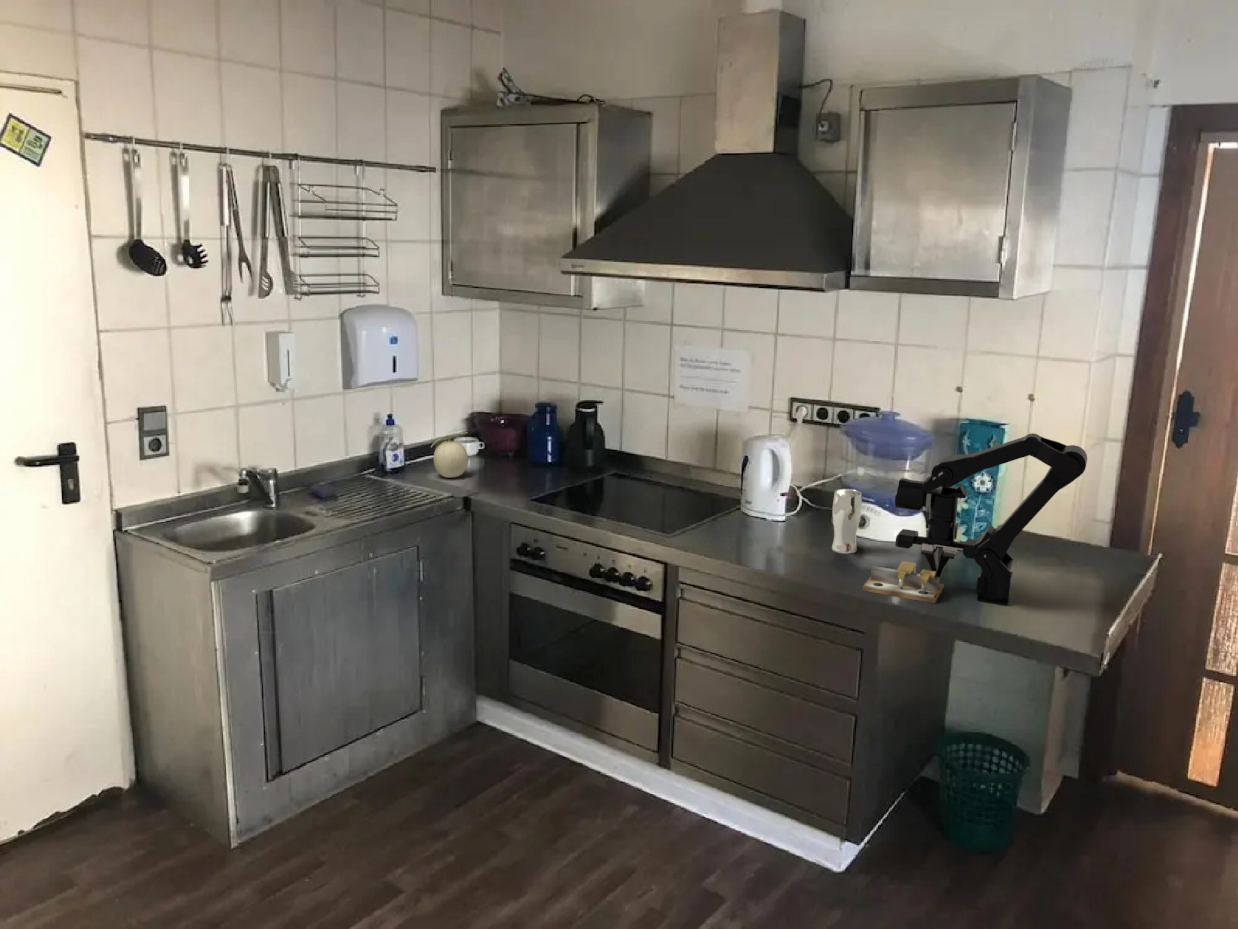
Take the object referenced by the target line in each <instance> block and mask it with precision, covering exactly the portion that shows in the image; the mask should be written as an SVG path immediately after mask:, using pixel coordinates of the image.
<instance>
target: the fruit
mask: <svg viewBox="0 0 1238 929" xmlns="http://www.w3.org/2000/svg"><path fill="white" fill-rule="evenodd" d="M464 434H468V431H465V432H455V433H450V434H445V435H444V436H441V437H440V438H439V439H437V440H435V441H434V442H433V443H432V444H431V446H430V448H431V449H432V448H433V446H434V445H435V444H436V443H437V442H439V441H440V440H443V439H445V438H447V441H446V440H445V441H443V442H441V443H440V444H438V446H436V448H435V450H434V452H433V465H434V468H435V470H436V471H437V473H438V474H440V476H442V477H444V478H448V479H449V478H450V479H451V478H452V479H453V478H458V477H461V475H463V473H464V472H465V471H466V470H467V467H468V464H469V456H468V453H467V452H468V451H467V449H466V448H465V445H463V444H462V443H460V442H459V441H457V440H452V439H451V437H453V436H457V435H464Z"/></svg>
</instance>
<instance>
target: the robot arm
mask: <svg viewBox="0 0 1238 929" xmlns="http://www.w3.org/2000/svg"><path fill="white" fill-rule="evenodd" d="M1029 456H1030V457H1033V458H1035V459H1036V460H1038V461H1040V462H1041V463H1043V464H1045V465H1047V467H1049V469H1048V471H1047V472H1046V474H1045V476H1044V477H1043V478H1042V480H1040V481H1039V483H1038V484H1037V485H1036V486H1035V487H1034V488H1033V489H1032V490H1031V491H1030V493H1029V494H1028V495H1026V497H1025V498H1024V500H1022V502H1021V503H1020V504H1019V505H1017V507H1016V508H1015V510H1014V511H1013V512H1012V513H1011V514H1010V515H1009V516H1008V517H1007V518H1006V519H1005V521H1004V522H1002V524H1000V525H999V526H997V527H994V526H993V525H992V524H989V525H988V527H987V529H986V530H985V532H984V533H982V534H980V535H979V536H978V538H977V539H975V538H974V539H973V538H972V539H971V538H967V539H966V541H965V542H961V541H960V542H959V541H955V540H956V539H957V536H958V530H959V523H958V522H957V515H958V514H957V513H958V504H959V499H966V498H967V496H968V494H969V491H967V490H966V489H965V488H964V487H963V485H962V484H959V485H958V486H957V487H953V486H955V485H956V484H958V483H960V482H963V481H964V480H966V479H967V478H969V477H970V476H971V477H972V475H974V474H977V473H978V472H982V471H984V470H987V469H991V468H993V467H998V466H1000V465H1003V464H1007V463H1009V462H1013V461H1016V460H1019V459H1022V458H1026V457H1029ZM1087 462H1088V455H1087V452H1086V451H1085V450H1084V448H1082V447H1080V446H1078V445H1074V444H1071V445H1067V444H1064V443H1061V442H1059V441H1057V440H1056V441H1055V440H1052V439H1049V438H1046V437H1043V436H1041V435H1039V434H1037V433H1034V432H1033V433H1028V434H1026V435H1025V436H1022V437H1020V438H1016V439H1012V440H1011V441H1007V442H1004V443H1001V444H998V445H995V446H992V447H989V448H986V449H983V450H979V451H977V452H974V453H968V454H965V453H964V454H954V455H953V454H952V455H947V456H944V457H942V458H940V459H939V460H938V461H937V462H936V464H935V465H934V466H933V468H932V470H931V473H930V474H931V475H930V476H927V477H926V479H925V480H924V481H923V480H914V479H908V478H905V477H901V478H899V480H898V485H897V490H896V494H895V497H894V507H895V509H902V510H908V511H914V512H915V511H917V512H922V511H923V510H924V508H928V506H929V502H930V506H929V507H930V508H929V514H927V518H926V522H925V529H927V536H922V535H921V536H920V535H919V531H918V530H915V529H914V530H912V529H906V528H902V529H901V530H899V532H898V534H897V535H896V537H895V545H894V546H895V547H896V548H901V549H910V548H912V547H913V546H914V545H918V546H919V545H920V546H921V550H920V554H921V555H924V557H926V560H927V562H928V564H929V567H930V569H931V570H930V571H936V576H937V577H940V578H941V577H942V574H943V572H944V570H945V567H946V565H947V563H948V562H949V560H954V559H955V558H956V557H957V554H958V553H959V552H962V554H963V556H964V557H965V558H966V559H972V560H974V561H975V563H976V564H977V565H978V566H979V567H980V569H981V571H980V574H978V577H977V582H976V589H975V590H976V592H975V594H976V595H977V596H976V600H977V601H978V602H979V601H980V602H986V603H990V604H996V605H1003V606H1008V605H1009V603H1010V601H1011V598H1012V595H1013V594H1012V592H1011V591H1012V582H1013V575H1014V572H1013V571H1012V567H1013V564H1014V562H1015V559H1013V557H1012V556H1011V555H1010V554H1009V553H1008V550H1009V548H1010V547H1011V546H1012V544H1013V542H1014V540H1015V539H1016V537H1017V536H1018V535H1019V534H1020V533H1021V532H1022V531H1023V529H1025V527H1026V526H1027V525H1028V524H1029V523H1030V522H1031V521H1032V520H1033V519H1034V518H1035V517H1036V515H1037V514H1039V512H1040V511H1041V510H1042V509H1043V508H1044V507H1045V506H1046V504H1047V503H1048V502H1049V501H1051V499H1052V498H1053V497H1054V496H1055V495H1056V494H1057V493H1058V491H1060V490H1062V489H1064V488H1065V487H1067V486H1068V485H1070V484H1071V483H1073V482H1074V481H1075V480H1077V479H1078V478H1079V477H1080V476H1082V475H1083V474H1084V472H1085V470H1086V468H1087ZM940 549H942V552H941V554H940V557H939V550H940Z"/></svg>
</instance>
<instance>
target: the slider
mask: <svg viewBox="0 0 1238 929" xmlns="http://www.w3.org/2000/svg"><path fill="white" fill-rule="evenodd" d="M896 570H897V572H899V573H898V579H899V588H903V579H905V577H906V576H907V574H911V573H912V572H913V573H917V572H916V570H917V562H912V561H906V560H905V561H904V560H902V561H901V562H900V564H899V566H898V567H897V569H896Z"/></svg>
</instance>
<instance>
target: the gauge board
mask: <svg viewBox="0 0 1238 929" xmlns="http://www.w3.org/2000/svg"><path fill="white" fill-rule="evenodd" d="M898 573H899V572H897V569H894V568H889V567H888V568H887V567H883V566H876V565H872V566H871V568H870V576H869V578H868V579H867V580H866V581H865V583H864V584H863V585H862V590H861V591H865V592H870V593H873V594H874V593H876V594H882V595H886V596H891V597H897V598H904V599H909V600H914V601H919V602H924V603H932V604H936V603H937V601H938V599H939V598H940V596H941V594H942V592H943V591H944V588H945V584H944V583H941V580H940V579H941V577H937V576H936V571H932V570H929V569H924V568H923V569H921V571H920V573H919V572H915V573H913V572H912V573H911V574H907V576H906V577H905V579H903V588H899V579H898Z"/></svg>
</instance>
